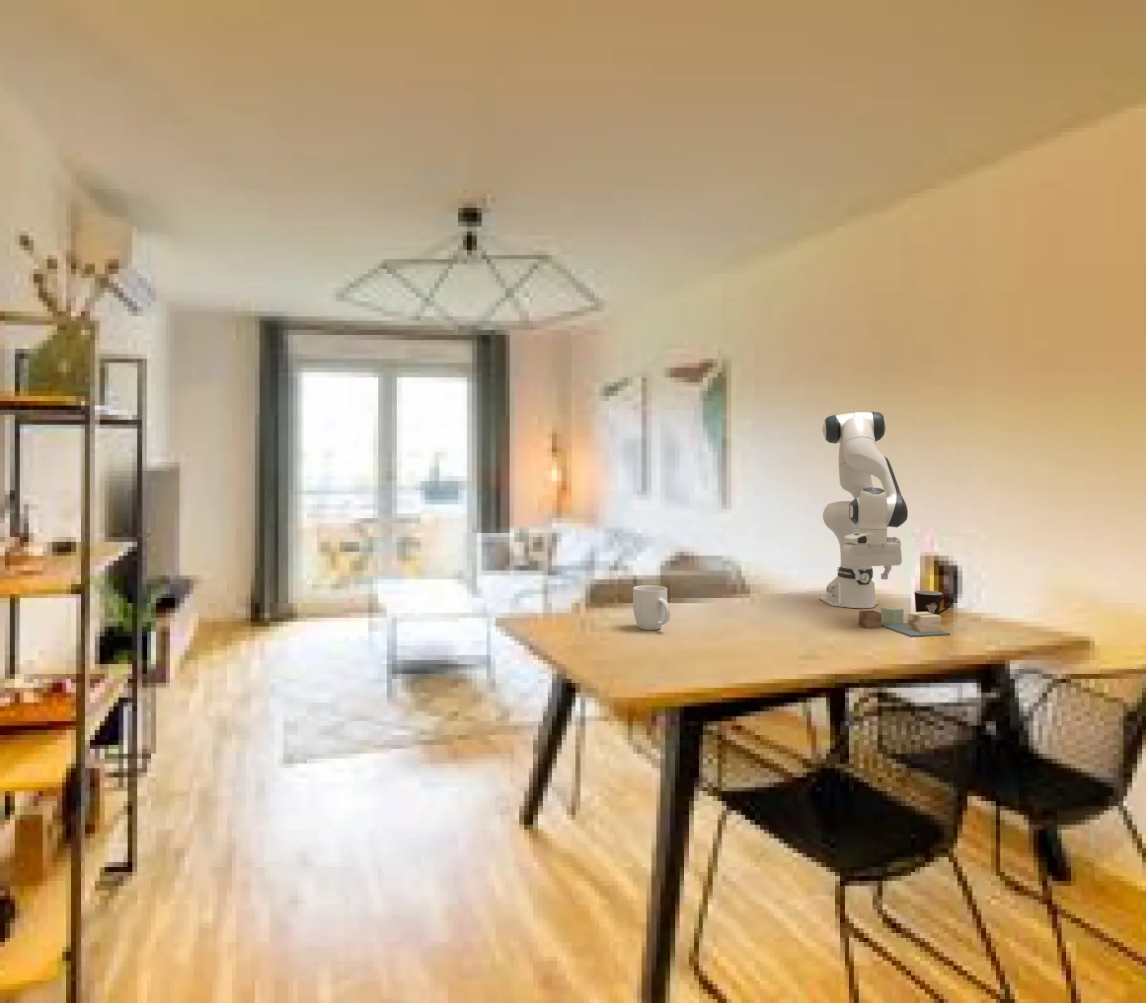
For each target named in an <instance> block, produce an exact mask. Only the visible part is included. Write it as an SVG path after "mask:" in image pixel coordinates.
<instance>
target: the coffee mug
mask: <svg viewBox="0 0 1146 1003" xmlns="http://www.w3.org/2000/svg"><path fill="white" fill-rule="evenodd" d="M944 599H948V600H949V602H950V603H949V604H948V605H947V606H946V607H945V608H943V609H941V610H940V607H941V603H942V601H943V600H944ZM914 602H915V603H914V604H915V612H929V613H933V614H936V615H939V616H940V614H941V613H944V612H945V611H947V610H948V609H949V608H950V607H951V606H952V605H953V600H952V598H951V597H949V596H943V593H942V592H939V591H935V590H922V589H921V590H920V589H919V590H915V591H914Z"/></svg>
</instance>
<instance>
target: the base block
mask: <svg viewBox="0 0 1146 1003" xmlns="http://www.w3.org/2000/svg"><path fill="white" fill-rule="evenodd" d="M907 623H908V628H909V629H912V630H915V631H918V632H921V633H924V632H941V630H942V629H941V628H942V616H941V615H940V614H939V615H936V614H933V613H929V612H916V611H914V612H907Z"/></svg>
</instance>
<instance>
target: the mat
mask: <svg viewBox="0 0 1146 1003" xmlns="http://www.w3.org/2000/svg"><path fill="white" fill-rule="evenodd" d="M881 628H884V629H888V630H891V631H893V632H896V633H899V634H901V635H905V636H907V637H910V638H919V637H921V638H922V637H939V636H941V637H943V636H950V635H951V632H948V631H944V630H942V629H941V632H924V633H921V632H918V631H915V630H912V629H909V628H908V622H905V623H904V622H903V623H898V624H887V623H881Z"/></svg>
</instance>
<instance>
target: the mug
mask: <svg viewBox="0 0 1146 1003" xmlns="http://www.w3.org/2000/svg"><path fill="white" fill-rule="evenodd" d="M632 590H633V591H632V608H633V615H634V620H635V622H636V625H637V626H638V628H639V629H641V630H645V631H656V630H659V629H661V627H662V626H663V625H666V624H667V623H669V621H670V618H671V609H670V605H669V602H668V587H665V586H660V585H649V584H648V585H647V584H646V585H643V584H642V585H637V586H634V587H633V588H632Z"/></svg>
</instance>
